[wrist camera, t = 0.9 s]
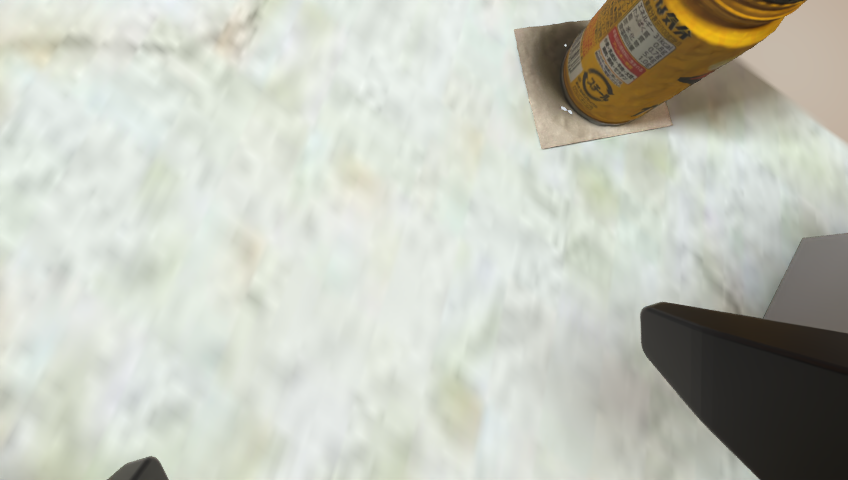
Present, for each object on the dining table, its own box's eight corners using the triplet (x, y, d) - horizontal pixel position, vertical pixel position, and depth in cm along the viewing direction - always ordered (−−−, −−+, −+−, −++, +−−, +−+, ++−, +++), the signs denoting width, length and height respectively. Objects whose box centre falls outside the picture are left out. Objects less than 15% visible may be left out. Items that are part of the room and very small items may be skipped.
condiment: (670, 126, 27) (909, -3, 15) (540, 150, 25) (687, 31, 14) (640, 14, 27) (847, -196, 15) (512, 32, 26) (629, -180, 14)
